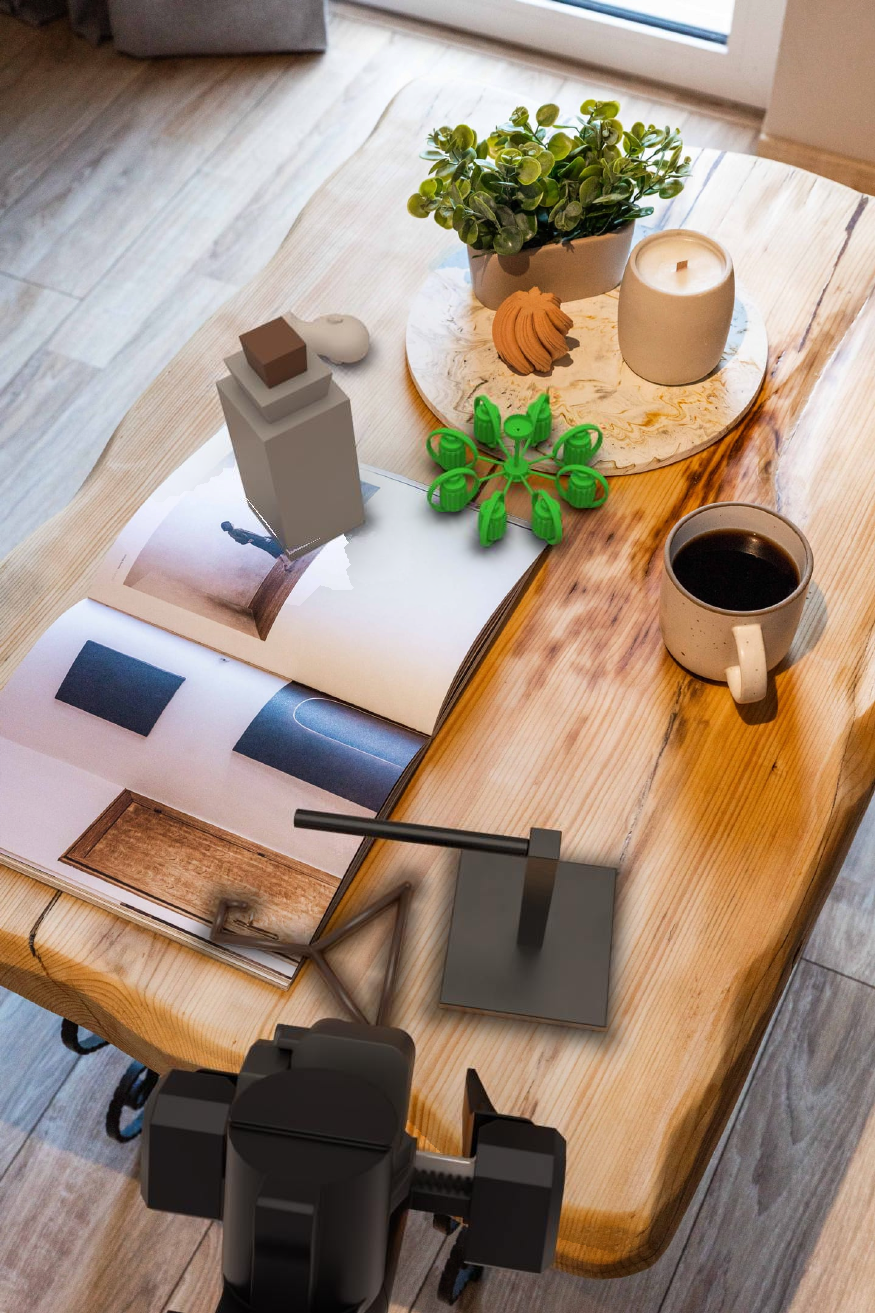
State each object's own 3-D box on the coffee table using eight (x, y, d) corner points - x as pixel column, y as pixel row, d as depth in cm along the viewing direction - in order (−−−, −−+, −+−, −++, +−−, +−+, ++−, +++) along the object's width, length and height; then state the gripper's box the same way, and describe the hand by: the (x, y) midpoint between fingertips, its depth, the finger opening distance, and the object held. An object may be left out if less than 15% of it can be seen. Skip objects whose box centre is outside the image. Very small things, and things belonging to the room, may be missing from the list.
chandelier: (557, 394, 94) (563, 331, 88) (643, 522, 86) (656, 462, 80) (392, 450, 91) (387, 389, 85) (468, 587, 84) (467, 530, 78)
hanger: (382, 1053, 65) (184, 1020, 67) (383, 1056, 66) (187, 1024, 67) (413, 879, 71) (230, 852, 72) (414, 884, 72) (232, 857, 73)
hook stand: (604, 1032, 66) (639, 954, 53) (310, 989, 68) (271, 903, 55) (614, 874, 72) (649, 766, 58) (341, 838, 73) (313, 725, 60)
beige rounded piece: (376, 351, 98) (363, 378, 95) (288, 340, 99) (272, 366, 95) (376, 305, 96) (363, 330, 92) (286, 293, 96) (270, 318, 93)
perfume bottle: (365, 522, 87) (343, 348, 72) (291, 562, 85) (252, 392, 70) (320, 468, 90) (290, 290, 75) (248, 506, 88) (202, 331, 73)
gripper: (582, 1158, 40) (580, 947, 55) (84, 1079, 42) (215, 897, 57) (547, 1407, 43) (555, 1141, 58) (81, 1323, 44) (207, 1087, 59)
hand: (382, 1062), depth 58 cm, fingers open, 9 cm apart
